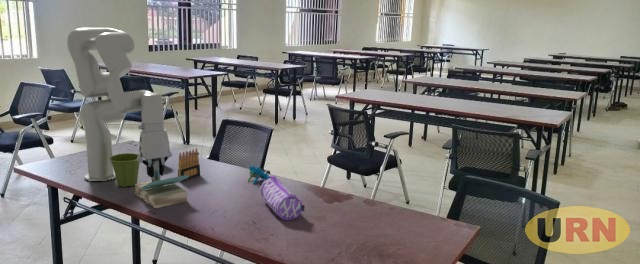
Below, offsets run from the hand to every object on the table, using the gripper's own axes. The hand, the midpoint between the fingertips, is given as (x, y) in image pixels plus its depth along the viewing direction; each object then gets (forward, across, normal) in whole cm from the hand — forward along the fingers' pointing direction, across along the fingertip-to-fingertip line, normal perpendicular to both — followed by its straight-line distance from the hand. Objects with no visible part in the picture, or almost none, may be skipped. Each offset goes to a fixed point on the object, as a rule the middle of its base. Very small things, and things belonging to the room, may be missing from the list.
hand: (155, 175), depth 195 cm
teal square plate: (+1, 0, -8) cm, 8 cm away
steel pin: (+3, 0, 0) cm, 3 cm away
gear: (+8, +39, -10) cm, 41 cm away
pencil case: (+9, +28, -40) cm, 49 cm away
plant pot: (+8, -4, +18) cm, 20 cm away
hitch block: (+8, 0, -4) cm, 9 cm away
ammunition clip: (+8, +19, +11) cm, 23 cm away
